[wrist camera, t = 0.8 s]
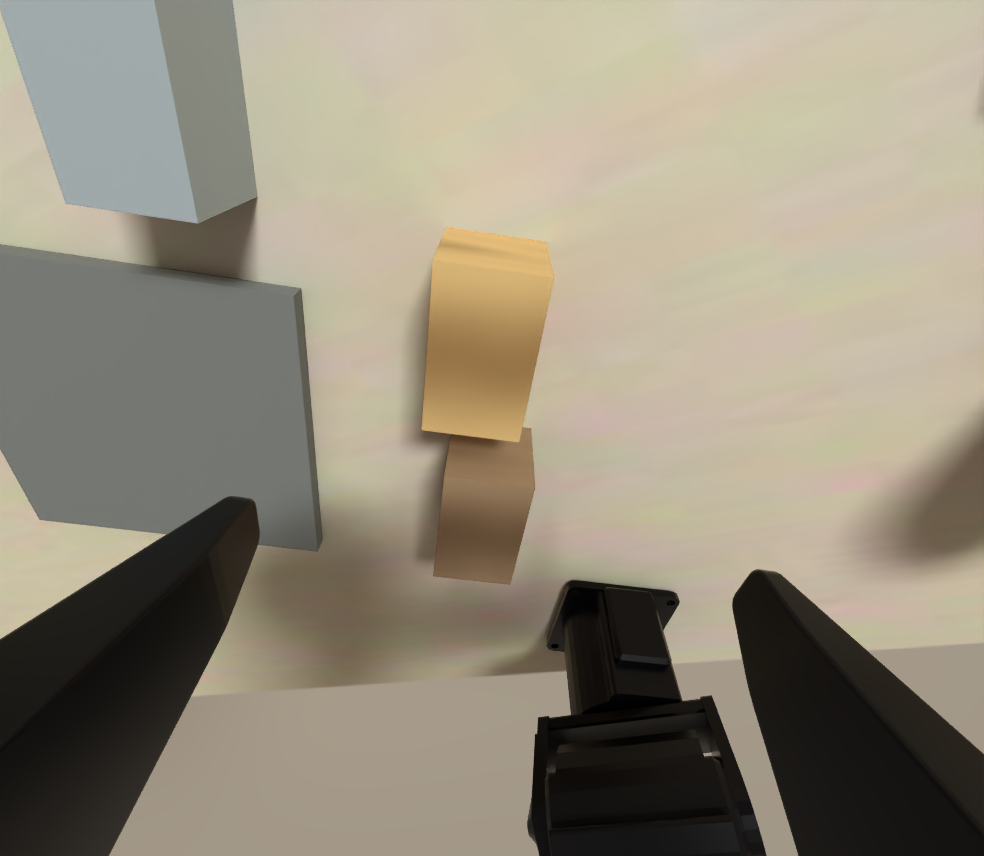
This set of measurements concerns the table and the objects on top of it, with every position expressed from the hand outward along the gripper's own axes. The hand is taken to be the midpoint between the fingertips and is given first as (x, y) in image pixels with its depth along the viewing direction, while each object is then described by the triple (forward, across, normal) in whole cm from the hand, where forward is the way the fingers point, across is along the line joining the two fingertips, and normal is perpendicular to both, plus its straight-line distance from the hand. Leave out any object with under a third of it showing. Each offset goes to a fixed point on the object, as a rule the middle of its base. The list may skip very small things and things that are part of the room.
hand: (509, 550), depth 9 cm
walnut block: (+12, 0, +8) cm, 15 cm away
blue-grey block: (+12, +11, -5) cm, 17 cm away
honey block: (+12, +1, 0) cm, 12 cm away
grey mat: (+12, +15, +8) cm, 20 cm away
